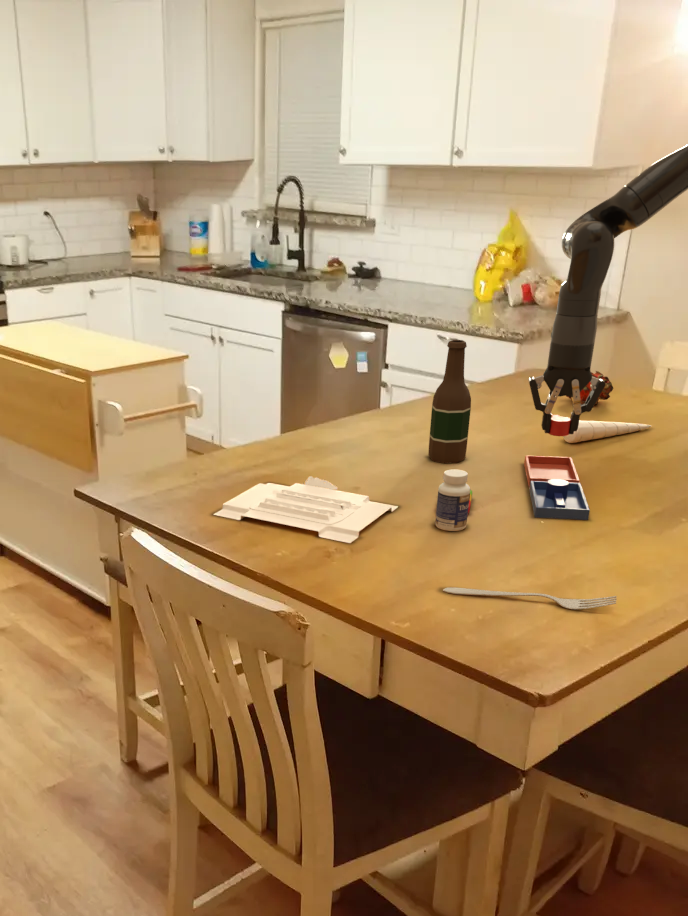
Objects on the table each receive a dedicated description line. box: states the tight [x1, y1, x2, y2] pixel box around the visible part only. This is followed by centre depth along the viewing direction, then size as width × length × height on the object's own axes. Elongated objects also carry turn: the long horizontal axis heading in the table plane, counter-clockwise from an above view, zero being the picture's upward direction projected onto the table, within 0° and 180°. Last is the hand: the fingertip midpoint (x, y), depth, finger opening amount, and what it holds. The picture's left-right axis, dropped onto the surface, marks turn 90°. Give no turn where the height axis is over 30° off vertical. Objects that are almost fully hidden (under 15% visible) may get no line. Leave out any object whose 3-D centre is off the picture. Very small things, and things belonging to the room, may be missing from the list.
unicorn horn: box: [562, 419, 653, 444], centre depth 208 cm, size 5×24×5 cm, turn 108°
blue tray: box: [528, 481, 591, 521], centre depth 173 cm, size 9×14×2 cm, turn 167°
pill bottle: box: [434, 468, 471, 532], centre depth 164 cm, size 5×5×10 cm
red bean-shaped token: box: [547, 414, 571, 437], centre depth 182 cm, size 10×4×3 cm, turn 167°
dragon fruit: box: [565, 370, 614, 405], centre depth 233 cm, size 8×8×12 cm
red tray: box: [523, 454, 580, 489], centre depth 187 cm, size 9×14×2 cm, turn 167°
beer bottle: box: [428, 339, 472, 464], centre depth 194 cm, size 8×8×24 cm
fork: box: [442, 586, 618, 610], centre depth 139 cm, size 3×24×2 cm, turn 70°
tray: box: [212, 475, 399, 544], centre depth 174 cm, size 20×28×4 cm
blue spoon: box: [545, 479, 569, 508], centre depth 173 cm, size 10×4×3 cm, turn 167°
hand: (558, 432), depth 180 cm, fingers closed on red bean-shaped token, 3 cm apart
